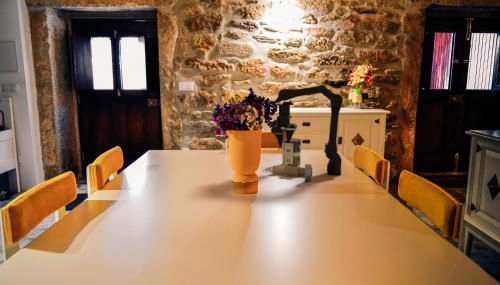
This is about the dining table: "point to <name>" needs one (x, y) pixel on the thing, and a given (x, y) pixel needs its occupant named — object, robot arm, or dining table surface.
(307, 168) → the pin
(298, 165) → the wooden box with arms
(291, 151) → the coffee can
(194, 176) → the dining table surface
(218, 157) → the dining table surface
